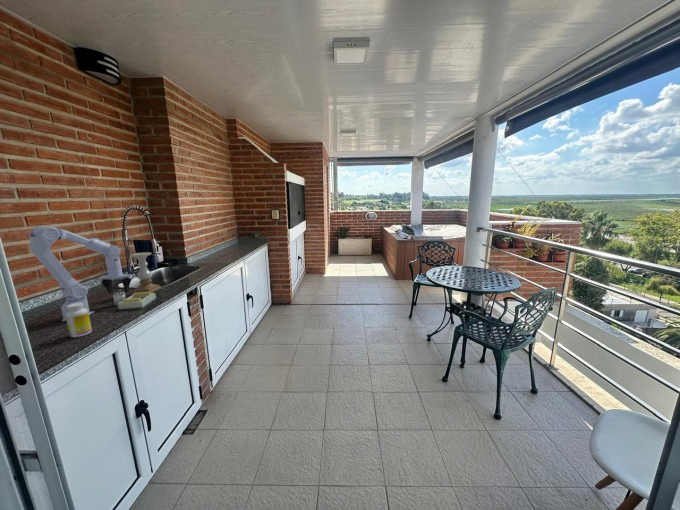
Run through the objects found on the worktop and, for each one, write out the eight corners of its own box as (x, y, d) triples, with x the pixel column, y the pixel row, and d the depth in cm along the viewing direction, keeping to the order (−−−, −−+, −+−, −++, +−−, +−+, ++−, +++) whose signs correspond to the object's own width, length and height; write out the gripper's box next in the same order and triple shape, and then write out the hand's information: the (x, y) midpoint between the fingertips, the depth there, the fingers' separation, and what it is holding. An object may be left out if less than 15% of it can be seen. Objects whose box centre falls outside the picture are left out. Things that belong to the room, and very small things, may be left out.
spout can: (123, 305, 145) (120, 291, 143) (112, 306, 144) (110, 292, 142) (128, 302, 150) (126, 288, 148) (118, 302, 149) (116, 289, 147)
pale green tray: (142, 308, 140) (141, 299, 139) (118, 310, 138) (117, 301, 137) (156, 299, 153) (154, 290, 152) (134, 300, 151) (132, 292, 150)
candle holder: (144, 289, 171) (138, 252, 167) (162, 289, 171) (156, 251, 167) (131, 295, 160) (124, 255, 156) (150, 295, 160) (143, 255, 156)
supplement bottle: (96, 330, 116) (90, 301, 114) (82, 337, 109) (76, 307, 107) (80, 330, 116) (74, 302, 113) (65, 338, 109) (58, 308, 107)
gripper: (133, 265, 148) (138, 288, 151) (103, 266, 146) (108, 291, 148) (126, 268, 141) (130, 293, 144) (94, 269, 139) (99, 295, 141)
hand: (119, 292), depth 146 cm, fingers open, 7 cm apart
